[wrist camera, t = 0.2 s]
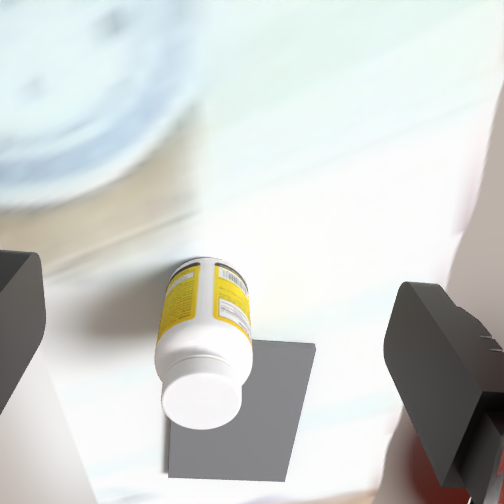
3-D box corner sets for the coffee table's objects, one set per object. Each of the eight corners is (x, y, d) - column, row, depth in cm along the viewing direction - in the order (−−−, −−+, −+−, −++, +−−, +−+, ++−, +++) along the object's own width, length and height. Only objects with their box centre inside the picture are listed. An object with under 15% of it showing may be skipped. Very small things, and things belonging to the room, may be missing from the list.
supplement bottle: (166, 320, 33) (145, 438, 25) (167, 252, 30) (144, 358, 22) (244, 324, 34) (250, 441, 25) (252, 257, 31) (261, 363, 22)
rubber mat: (175, 334, 34) (174, 340, 33) (314, 343, 35) (316, 349, 34) (168, 471, 41) (168, 477, 41) (283, 475, 42) (284, 481, 42)
